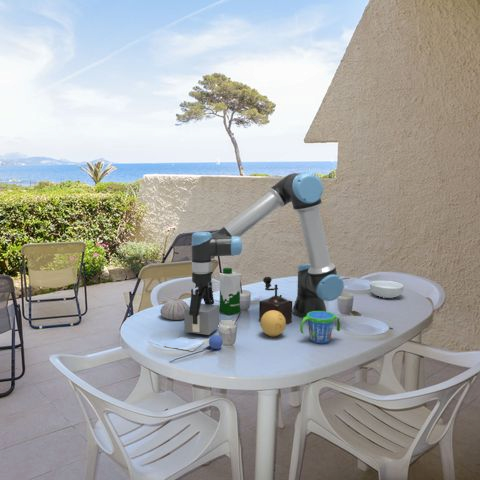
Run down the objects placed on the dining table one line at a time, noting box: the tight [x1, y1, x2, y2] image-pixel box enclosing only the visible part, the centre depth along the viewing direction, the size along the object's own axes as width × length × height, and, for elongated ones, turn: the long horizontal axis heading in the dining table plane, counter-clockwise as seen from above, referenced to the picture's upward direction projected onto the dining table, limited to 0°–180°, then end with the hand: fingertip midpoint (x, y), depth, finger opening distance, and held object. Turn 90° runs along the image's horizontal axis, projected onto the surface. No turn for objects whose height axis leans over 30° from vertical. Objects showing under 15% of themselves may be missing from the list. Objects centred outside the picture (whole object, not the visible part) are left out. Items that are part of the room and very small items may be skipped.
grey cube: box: [184, 302, 220, 336], centre depth 174 cm, size 10×10×9 cm
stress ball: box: [259, 310, 287, 338], centre depth 172 cm, size 10×10×10 cm
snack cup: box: [299, 311, 342, 344], centre depth 168 cm, size 16×10×10 cm
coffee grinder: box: [258, 276, 293, 325], centre depth 191 cm, size 16×11×18 cm
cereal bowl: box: [369, 280, 404, 299], centre depth 234 cm, size 17×17×7 cm
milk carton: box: [218, 267, 243, 316], centre depth 202 cm, size 9×9×20 cm
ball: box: [208, 334, 224, 350], centre depth 159 cm, size 5×5×5 cm
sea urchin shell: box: [159, 298, 190, 321], centre depth 194 cm, size 13×14×8 cm
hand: (202, 327), depth 175 cm, fingers closed on grey cube, 10 cm apart
